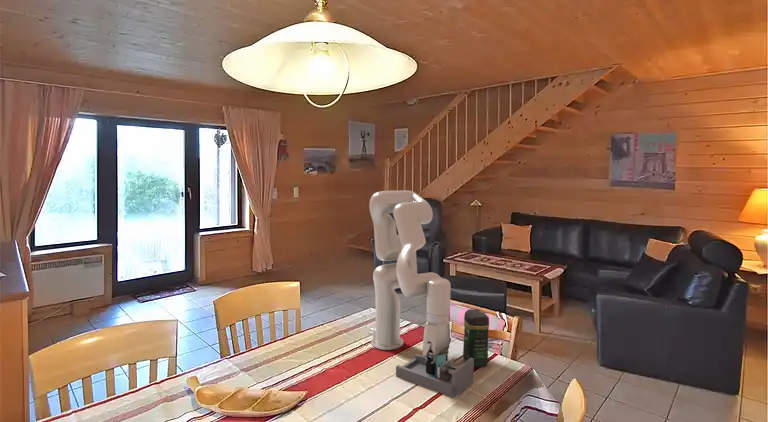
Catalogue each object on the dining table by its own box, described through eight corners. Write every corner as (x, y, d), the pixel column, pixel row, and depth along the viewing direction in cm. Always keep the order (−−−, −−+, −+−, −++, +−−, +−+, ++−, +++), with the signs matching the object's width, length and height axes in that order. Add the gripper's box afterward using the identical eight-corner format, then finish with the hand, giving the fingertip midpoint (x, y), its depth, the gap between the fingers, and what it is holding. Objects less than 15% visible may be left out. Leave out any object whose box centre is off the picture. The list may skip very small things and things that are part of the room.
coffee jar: (490, 367, 153) (492, 316, 151) (468, 368, 152) (470, 316, 150) (481, 355, 163) (482, 306, 161) (460, 356, 162) (461, 307, 160)
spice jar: (424, 377, 144) (424, 347, 142) (433, 371, 148) (434, 342, 147) (440, 383, 140) (440, 352, 139) (449, 376, 145) (450, 346, 144)
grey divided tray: (395, 376, 147) (396, 353, 146) (416, 363, 156) (416, 341, 155) (454, 398, 133) (455, 373, 132) (473, 382, 143) (473, 358, 142)
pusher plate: (437, 384, 139) (437, 367, 138) (451, 373, 146) (451, 356, 145) (447, 388, 136) (448, 370, 136) (461, 377, 144) (462, 360, 143)
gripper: (441, 307, 151) (440, 357, 153) (413, 321, 137) (412, 376, 139) (461, 312, 146) (459, 363, 148) (434, 327, 133) (432, 383, 135)
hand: (436, 369), depth 144 cm, fingers open, 7 cm apart
